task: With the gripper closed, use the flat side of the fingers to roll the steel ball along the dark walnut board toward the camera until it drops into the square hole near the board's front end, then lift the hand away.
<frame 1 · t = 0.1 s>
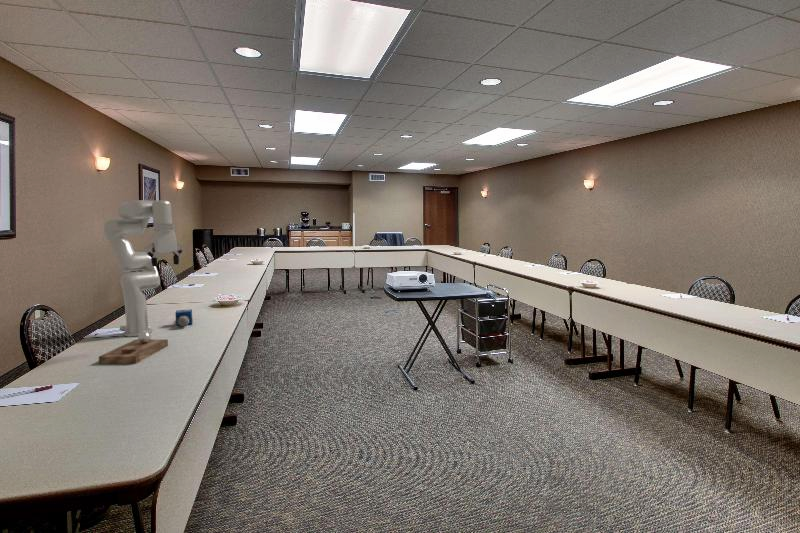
hand: (165, 265, 195), 37 cm above the table, tool pointing down, fingers open, 9 cm apart
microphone: (185, 324, 238), on the table
ball: (144, 337, 191), point 5 cm above the table, touching deck
deck: (135, 354, 185), on the table
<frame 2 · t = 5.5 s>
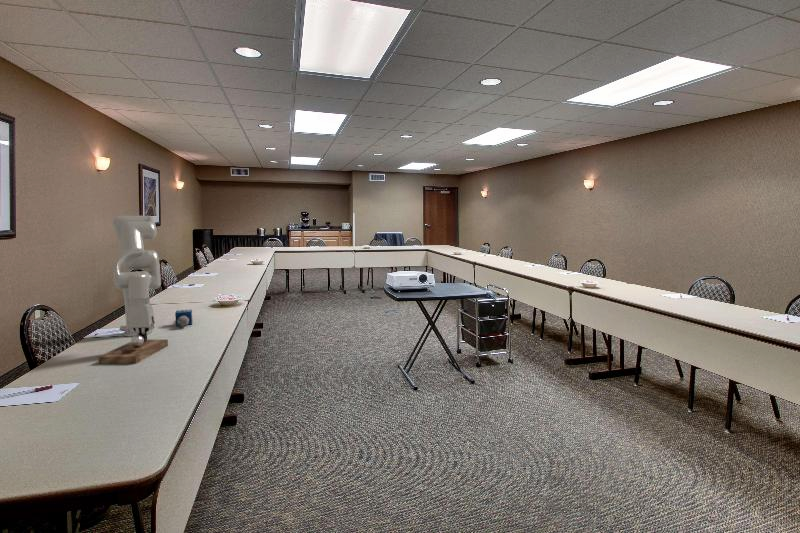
hand: (142, 341, 190), 4 cm above the table, tool pointing down, fingers closed
ball: (137, 341, 185), point 5 cm above the table, tilted 127°, touching deck
everything else where it was.
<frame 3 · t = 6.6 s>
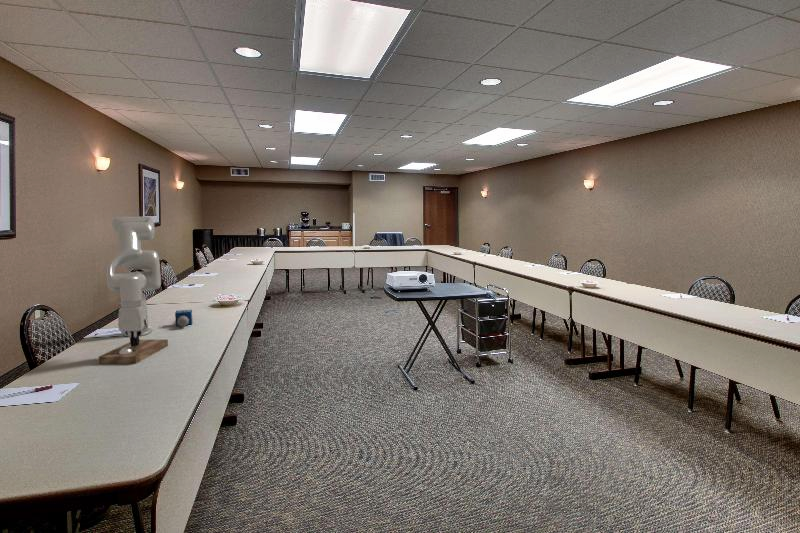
hand: (135, 345, 184), 4 cm above the table, tool pointing down, fingers closed
ball: (126, 353, 178), point 2 cm above the table, tilted 6°
everything else where it was.
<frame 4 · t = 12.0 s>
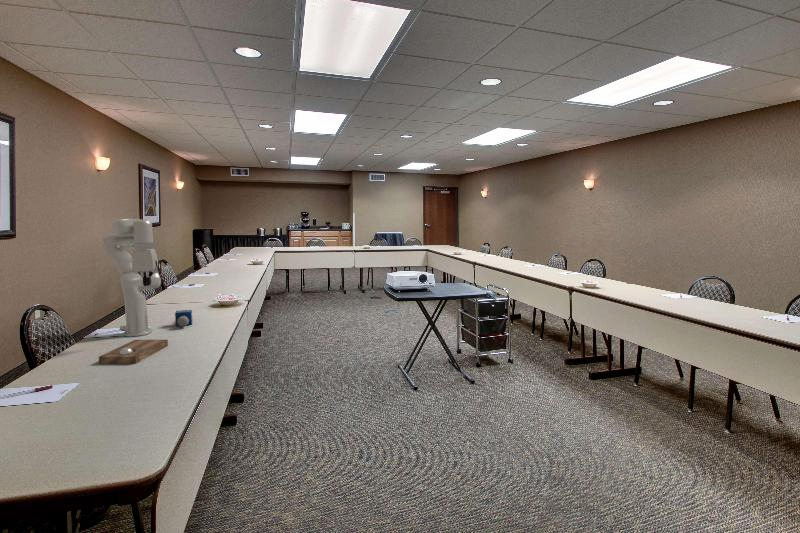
hand: (147, 285, 201), 27 cm above the table, tool pointing down, fingers closed
nothing on the table moved.
at the end: ball 0.4 cm from the target spot on the deck, point 2.5 cm above the deck's base; ball touching table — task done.
